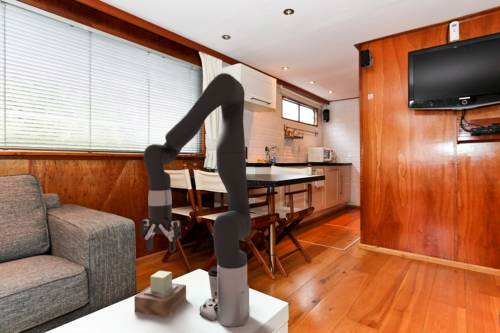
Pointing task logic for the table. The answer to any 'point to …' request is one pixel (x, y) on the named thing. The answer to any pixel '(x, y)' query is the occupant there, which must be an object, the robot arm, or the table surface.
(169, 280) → the sage cube
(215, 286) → the coffee cup
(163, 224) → the robot arm
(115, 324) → the table surface
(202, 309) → the game controller
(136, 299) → the walnut plinth
